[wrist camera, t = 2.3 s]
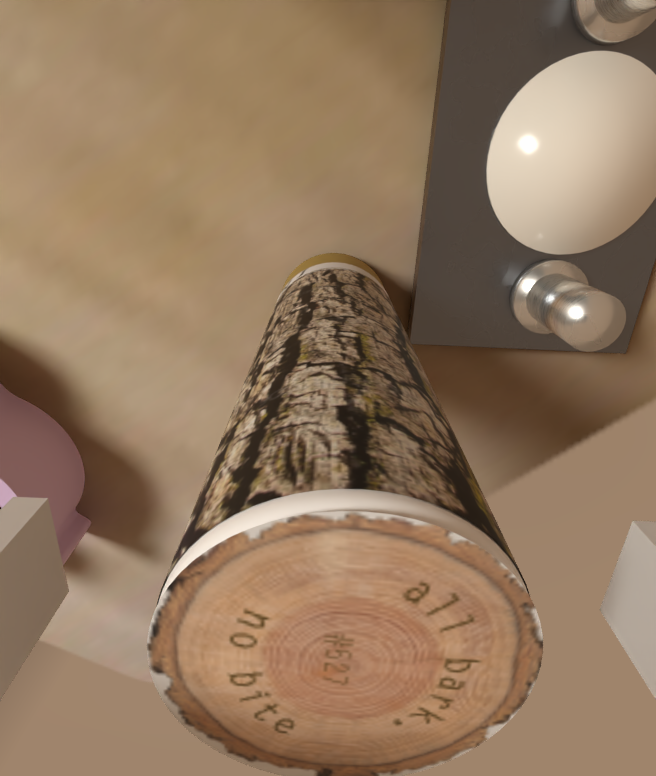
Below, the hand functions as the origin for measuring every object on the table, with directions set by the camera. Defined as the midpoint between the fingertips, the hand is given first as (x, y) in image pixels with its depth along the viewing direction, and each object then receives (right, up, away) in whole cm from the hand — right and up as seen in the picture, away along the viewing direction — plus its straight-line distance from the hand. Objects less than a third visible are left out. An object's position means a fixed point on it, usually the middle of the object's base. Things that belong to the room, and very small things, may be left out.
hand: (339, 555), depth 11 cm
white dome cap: (+13, +16, +15) cm, 26 cm away
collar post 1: (+13, +10, +18) cm, 25 cm away
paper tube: (0, +9, +20) cm, 22 cm away
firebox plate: (+12, +16, +17) cm, 26 cm away
